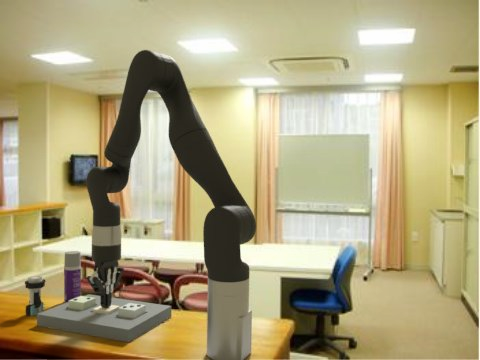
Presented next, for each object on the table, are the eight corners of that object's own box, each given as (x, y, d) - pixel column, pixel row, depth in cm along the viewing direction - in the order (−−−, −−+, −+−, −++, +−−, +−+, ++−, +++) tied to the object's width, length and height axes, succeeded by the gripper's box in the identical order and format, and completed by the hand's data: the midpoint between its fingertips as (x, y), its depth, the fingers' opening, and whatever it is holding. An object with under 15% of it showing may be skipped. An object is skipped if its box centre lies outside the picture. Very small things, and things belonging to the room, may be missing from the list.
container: (75, 304, 138) (75, 254, 138) (61, 303, 139) (61, 253, 139) (83, 300, 143) (83, 251, 142) (69, 299, 144) (69, 250, 143)
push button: (36, 308, 135) (36, 273, 134) (52, 309, 133) (52, 275, 133) (20, 315, 128) (20, 279, 128) (37, 317, 127) (37, 280, 126)
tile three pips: (145, 314, 123) (145, 304, 123) (134, 320, 118) (134, 309, 118) (129, 311, 125) (129, 302, 125) (117, 317, 120) (118, 307, 120)
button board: (171, 316, 129) (171, 306, 129) (128, 342, 110) (128, 329, 110) (88, 304, 139) (88, 294, 139) (36, 325, 120) (36, 314, 120)
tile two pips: (95, 306, 129) (95, 297, 129) (83, 311, 124) (83, 302, 124) (81, 304, 131) (81, 295, 131) (68, 309, 126) (68, 299, 126)
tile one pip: (119, 314, 126) (120, 305, 126) (108, 320, 121) (108, 310, 121) (104, 312, 128) (104, 303, 128) (92, 318, 123) (92, 308, 123)
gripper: (102, 247, 116) (101, 316, 117) (133, 239, 129) (132, 301, 129) (77, 244, 119) (77, 312, 120) (110, 237, 131) (109, 298, 132)
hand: (106, 306), depth 124 cm, fingers closed
